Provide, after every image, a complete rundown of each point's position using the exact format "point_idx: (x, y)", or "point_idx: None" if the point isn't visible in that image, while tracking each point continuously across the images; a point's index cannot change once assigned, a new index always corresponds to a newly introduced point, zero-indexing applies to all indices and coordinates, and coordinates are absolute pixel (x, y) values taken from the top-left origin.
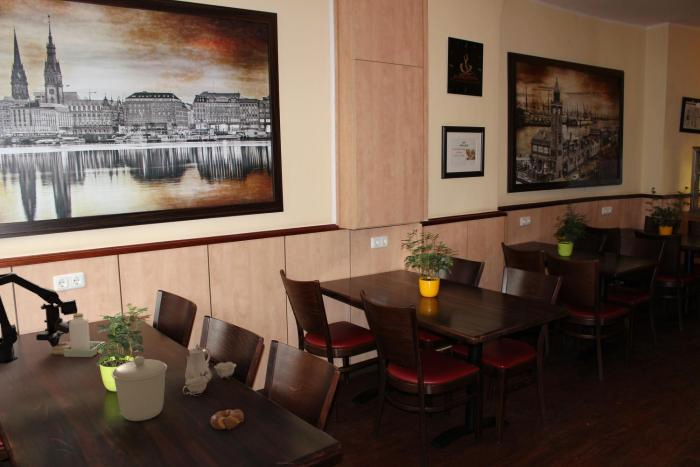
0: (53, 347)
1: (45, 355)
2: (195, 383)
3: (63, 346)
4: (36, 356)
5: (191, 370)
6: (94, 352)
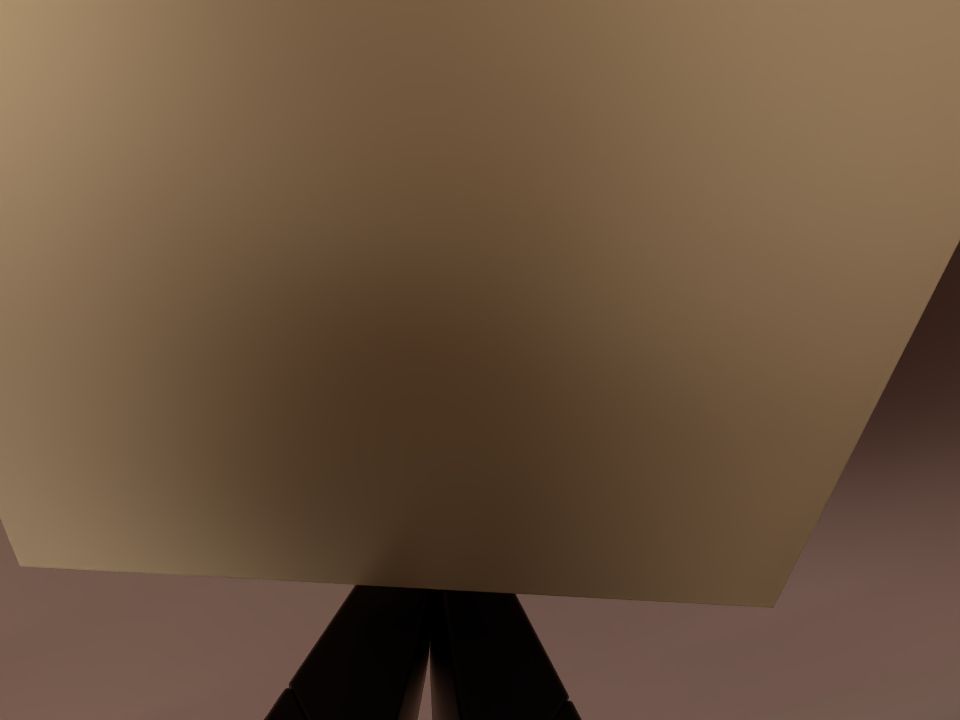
0: (775, 586)
1: None
2: None
3: (795, 216)
4: (762, 672)
5: None
6: None
